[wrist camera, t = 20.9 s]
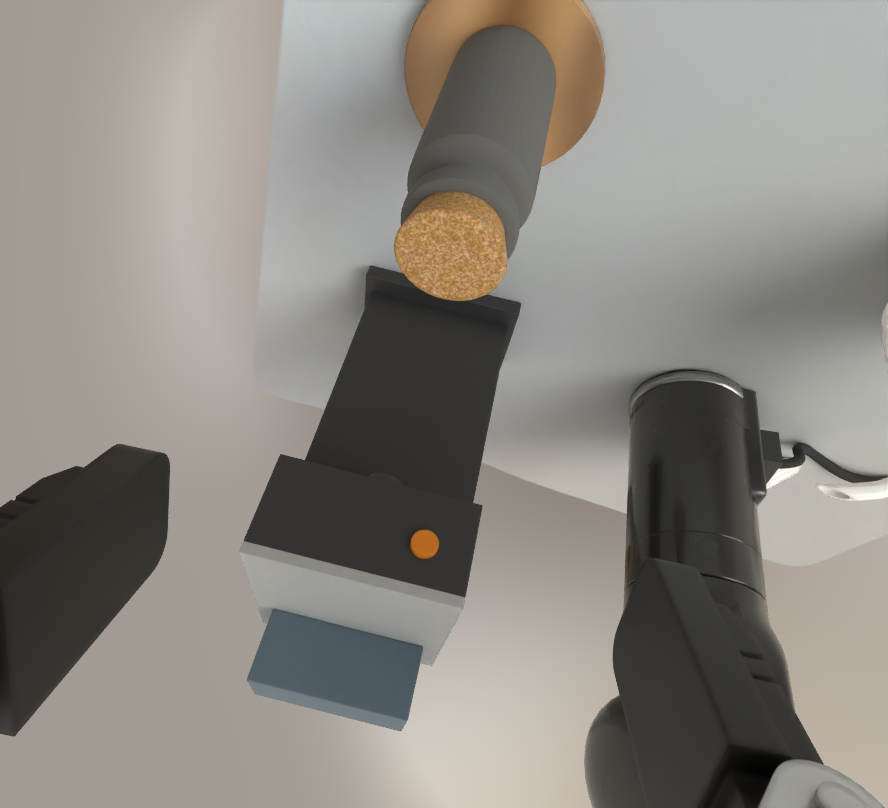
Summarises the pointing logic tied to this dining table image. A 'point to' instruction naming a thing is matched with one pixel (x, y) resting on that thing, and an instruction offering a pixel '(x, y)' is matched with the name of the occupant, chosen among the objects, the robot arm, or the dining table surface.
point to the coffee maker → (379, 508)
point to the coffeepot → (863, 489)
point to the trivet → (540, 13)
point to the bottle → (477, 165)
